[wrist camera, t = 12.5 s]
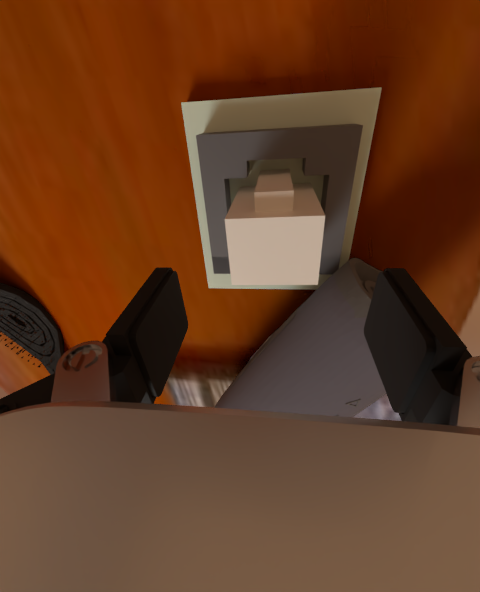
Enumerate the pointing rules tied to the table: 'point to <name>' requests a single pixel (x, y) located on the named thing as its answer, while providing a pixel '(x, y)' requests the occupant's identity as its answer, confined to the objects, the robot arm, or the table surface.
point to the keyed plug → (275, 232)
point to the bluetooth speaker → (316, 354)
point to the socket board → (280, 163)
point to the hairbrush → (30, 326)
